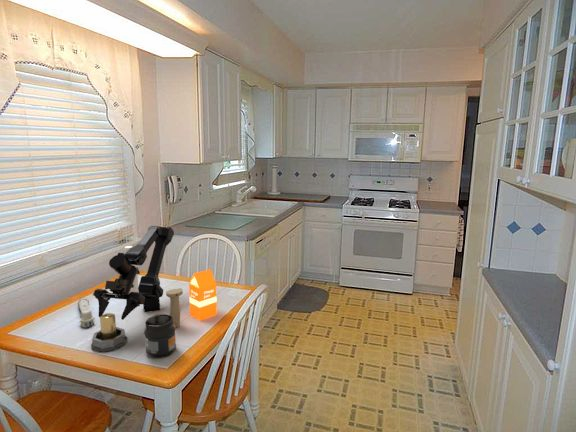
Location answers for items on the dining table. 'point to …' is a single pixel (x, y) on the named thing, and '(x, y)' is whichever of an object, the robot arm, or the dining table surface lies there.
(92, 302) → the dining table surface
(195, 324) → the dining table surface
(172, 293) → the handle
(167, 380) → the dining table surface
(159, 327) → the supplement container
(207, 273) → the orange juice
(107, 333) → the gold bulb-shaped piece
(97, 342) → the collar fitting
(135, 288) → the spray bottle
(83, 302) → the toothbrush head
